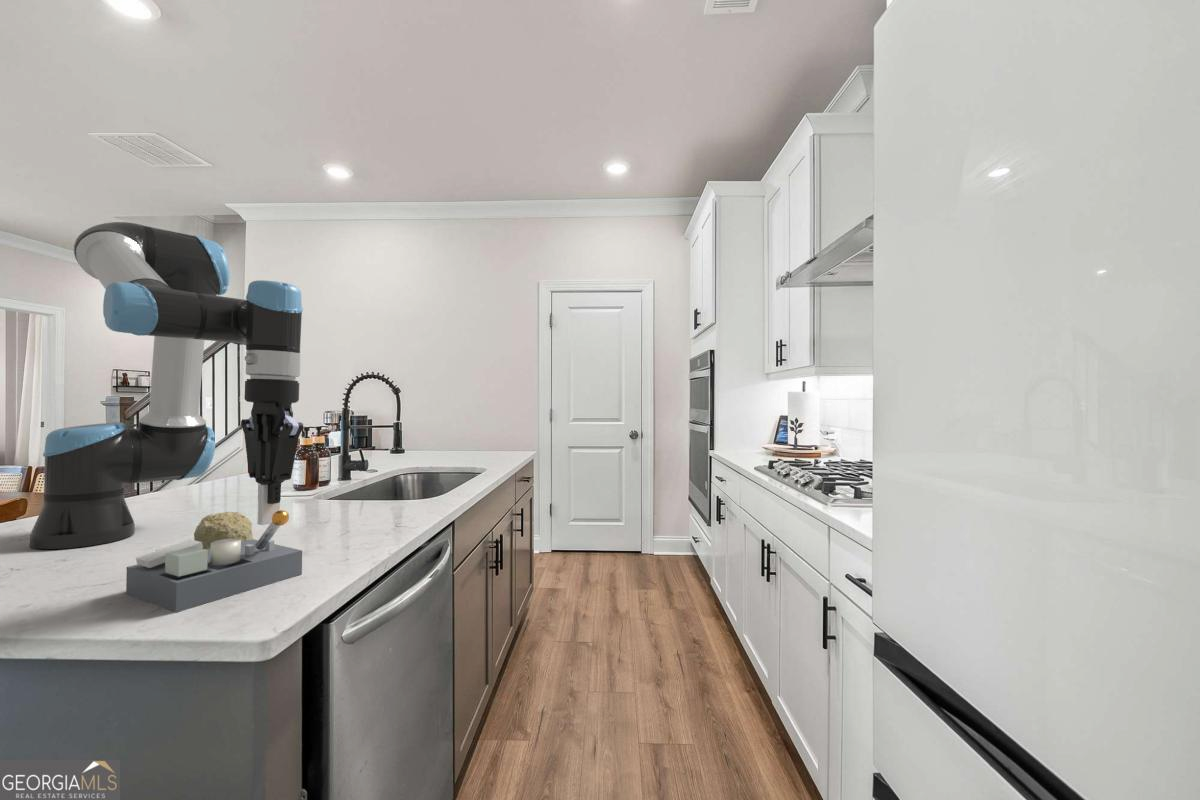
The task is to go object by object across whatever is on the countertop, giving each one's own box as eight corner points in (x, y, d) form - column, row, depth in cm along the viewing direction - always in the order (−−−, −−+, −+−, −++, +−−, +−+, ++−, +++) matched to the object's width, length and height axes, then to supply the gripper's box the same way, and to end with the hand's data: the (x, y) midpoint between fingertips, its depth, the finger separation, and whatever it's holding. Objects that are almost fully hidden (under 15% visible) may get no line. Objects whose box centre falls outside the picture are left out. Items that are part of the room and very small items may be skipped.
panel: (126, 593, 78) (126, 554, 78) (252, 561, 94) (252, 529, 94) (176, 612, 72) (176, 569, 72) (301, 574, 88) (302, 539, 88)
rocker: (137, 564, 78) (135, 558, 78) (190, 544, 84) (189, 539, 84) (149, 568, 76) (148, 561, 76) (203, 548, 82) (201, 542, 82)
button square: (165, 572, 75) (165, 552, 75) (193, 565, 78) (194, 546, 78) (178, 576, 73) (178, 556, 73) (207, 569, 77) (207, 550, 77)
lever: (249, 541, 86) (273, 508, 83) (264, 538, 88) (288, 505, 85) (255, 553, 85) (279, 520, 82) (270, 550, 87) (294, 517, 84)
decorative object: (251, 564, 103) (236, 519, 106) (268, 544, 98) (251, 497, 101) (195, 581, 96) (180, 532, 98) (209, 561, 90) (193, 509, 93)
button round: (204, 562, 80) (205, 543, 80) (231, 556, 83) (232, 537, 83) (218, 566, 78) (219, 546, 78) (245, 559, 81) (246, 540, 81)
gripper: (225, 376, 85) (220, 522, 85) (274, 377, 79) (269, 533, 79) (271, 378, 91) (267, 513, 92) (320, 379, 86) (315, 523, 86)
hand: (268, 522), depth 85 cm, fingers closed
